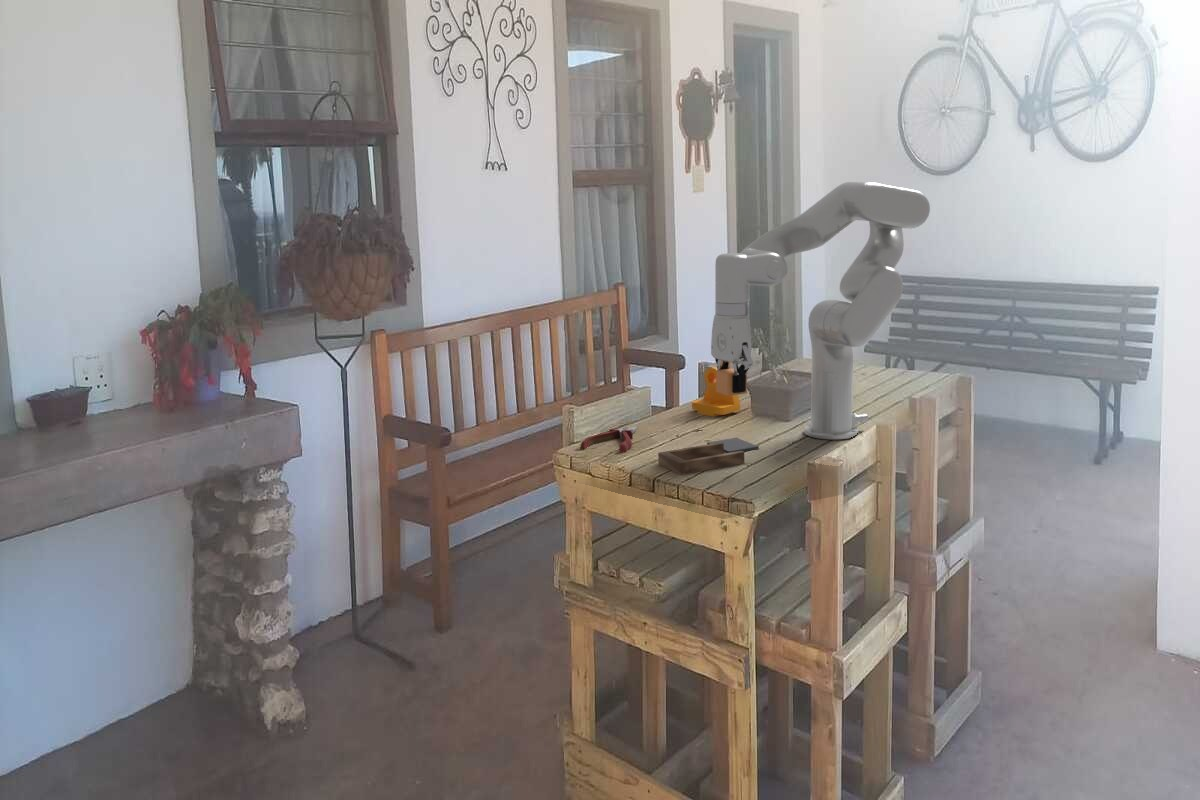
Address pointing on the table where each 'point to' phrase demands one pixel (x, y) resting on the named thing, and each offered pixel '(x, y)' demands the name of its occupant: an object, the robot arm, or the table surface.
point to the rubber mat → (736, 445)
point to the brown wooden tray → (699, 458)
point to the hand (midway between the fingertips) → (731, 389)
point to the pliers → (612, 438)
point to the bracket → (715, 398)
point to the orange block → (726, 382)
